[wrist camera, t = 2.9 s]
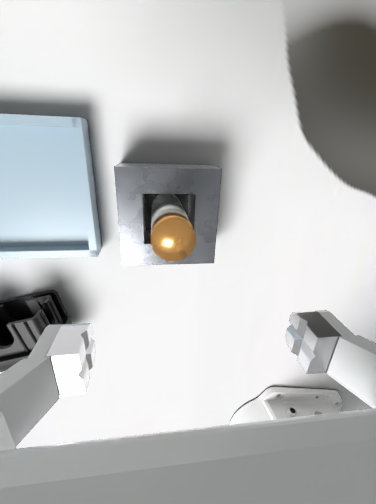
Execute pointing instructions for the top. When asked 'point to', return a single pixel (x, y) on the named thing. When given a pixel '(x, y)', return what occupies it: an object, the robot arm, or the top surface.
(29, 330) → the end cap
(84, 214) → the tray
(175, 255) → the gold and grey cylinder
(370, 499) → the robot arm
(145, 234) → the socket block
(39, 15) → the top surface
